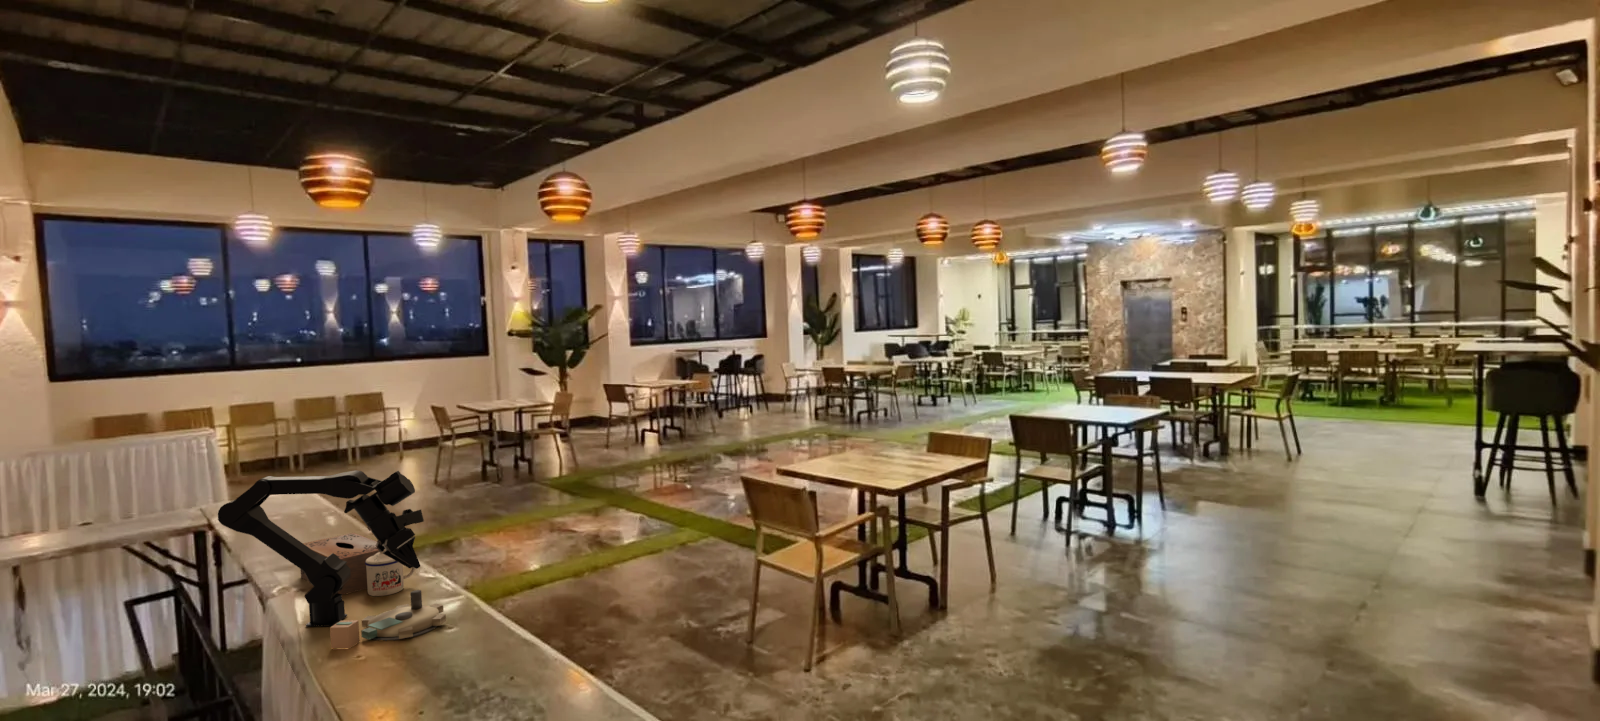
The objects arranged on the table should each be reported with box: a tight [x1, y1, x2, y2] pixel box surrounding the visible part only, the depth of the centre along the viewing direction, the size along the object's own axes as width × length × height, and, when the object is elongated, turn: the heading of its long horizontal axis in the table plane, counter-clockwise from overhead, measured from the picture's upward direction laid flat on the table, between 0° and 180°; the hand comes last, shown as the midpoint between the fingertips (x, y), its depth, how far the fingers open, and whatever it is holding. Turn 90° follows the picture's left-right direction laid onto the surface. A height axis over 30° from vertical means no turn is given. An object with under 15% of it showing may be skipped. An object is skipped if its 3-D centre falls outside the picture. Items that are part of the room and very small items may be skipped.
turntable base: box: [371, 626, 437, 642], centre depth 183 cm, size 16×16×1 cm
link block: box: [329, 619, 361, 649], centre depth 173 cm, size 4×4×5 cm
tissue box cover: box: [300, 532, 380, 596], centre depth 218 cm, size 26×14×10 cm, turn 51°
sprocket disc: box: [361, 589, 447, 640], centre depth 183 cm, size 19×18×6 cm
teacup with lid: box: [365, 549, 416, 597], centre depth 209 cm, size 12×9×12 cm
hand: (415, 567), depth 191 cm, fingers open, 9 cm apart
